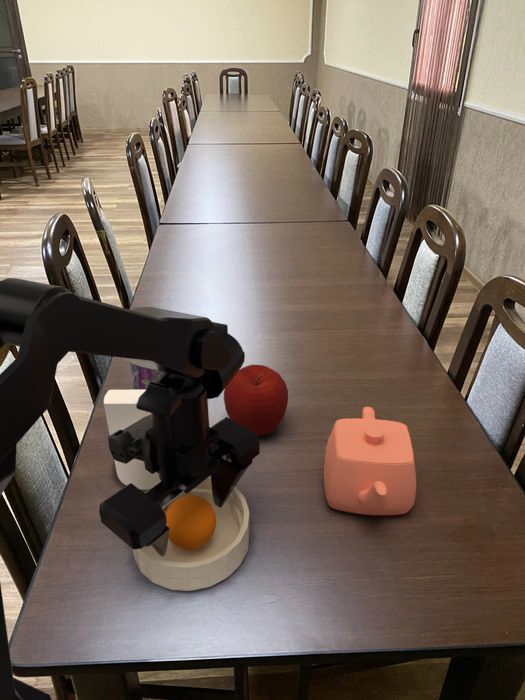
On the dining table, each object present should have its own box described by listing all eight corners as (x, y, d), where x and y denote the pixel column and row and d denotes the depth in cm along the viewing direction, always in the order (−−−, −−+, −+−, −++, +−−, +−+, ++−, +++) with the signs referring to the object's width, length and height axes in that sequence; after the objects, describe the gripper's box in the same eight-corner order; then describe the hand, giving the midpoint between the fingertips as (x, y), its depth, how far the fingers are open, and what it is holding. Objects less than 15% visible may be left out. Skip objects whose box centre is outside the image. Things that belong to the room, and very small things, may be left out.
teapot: (401, 451, 78) (412, 393, 72) (421, 556, 63) (437, 492, 57) (322, 446, 79) (327, 388, 73) (322, 548, 63) (328, 484, 58)
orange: (191, 570, 60) (187, 534, 57) (156, 541, 64) (150, 506, 60) (227, 536, 64) (226, 501, 61) (192, 511, 67) (189, 476, 64)
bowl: (189, 618, 56) (187, 591, 54) (110, 547, 63) (104, 521, 61) (272, 536, 65) (272, 510, 62) (194, 483, 72) (192, 458, 70)
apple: (225, 450, 78) (223, 394, 73) (224, 410, 86) (222, 357, 81) (290, 447, 79) (293, 391, 73) (283, 407, 87) (284, 354, 81)
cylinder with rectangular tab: (109, 489, 71) (95, 418, 65) (123, 444, 79) (112, 376, 73) (177, 489, 71) (170, 418, 65) (185, 443, 79) (179, 376, 73)
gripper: (192, 359, 65) (200, 455, 73) (55, 436, 53) (82, 541, 61) (263, 394, 59) (262, 495, 67) (125, 490, 47) (145, 599, 55)
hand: (190, 528), depth 63 cm, fingers open, 9 cm apart
